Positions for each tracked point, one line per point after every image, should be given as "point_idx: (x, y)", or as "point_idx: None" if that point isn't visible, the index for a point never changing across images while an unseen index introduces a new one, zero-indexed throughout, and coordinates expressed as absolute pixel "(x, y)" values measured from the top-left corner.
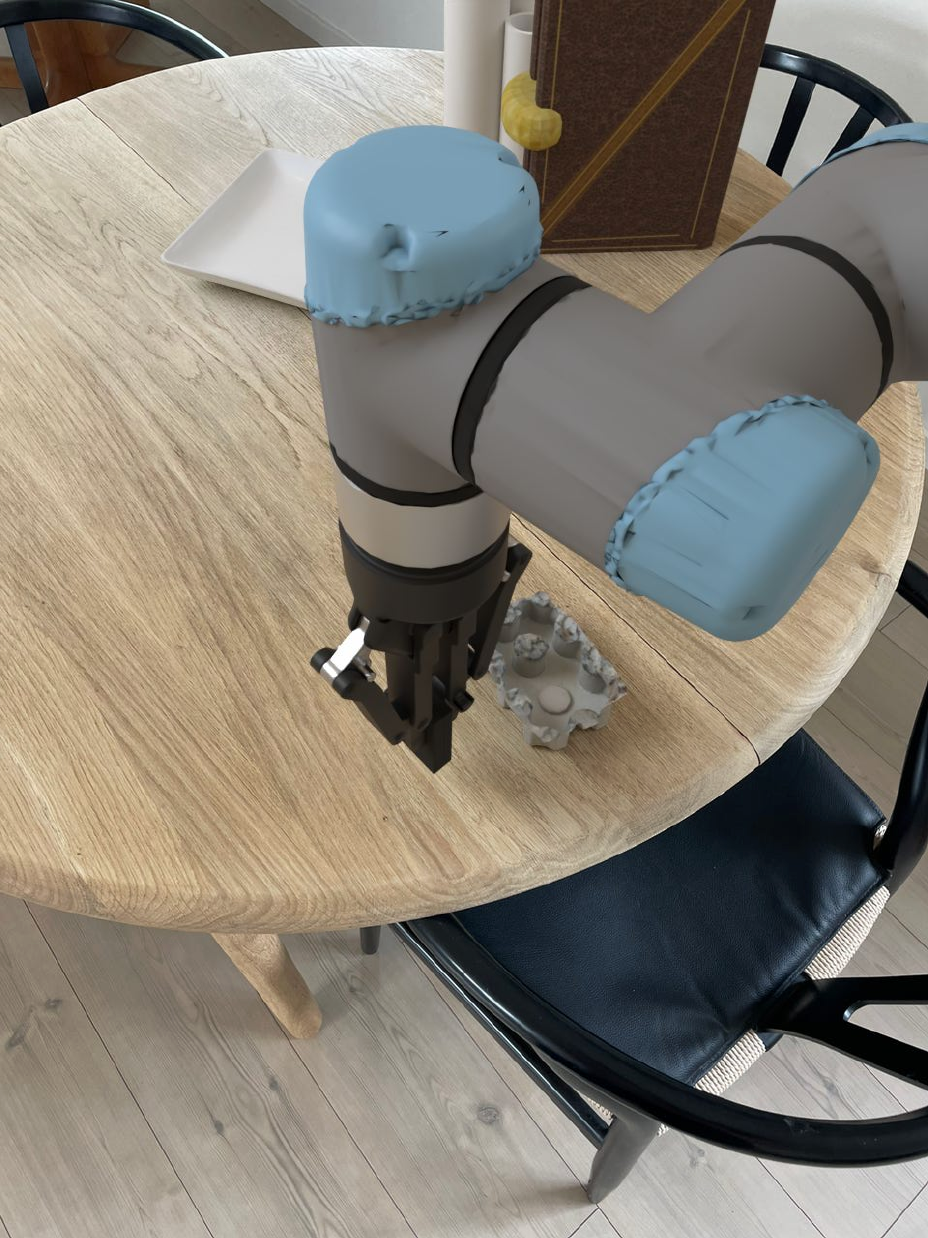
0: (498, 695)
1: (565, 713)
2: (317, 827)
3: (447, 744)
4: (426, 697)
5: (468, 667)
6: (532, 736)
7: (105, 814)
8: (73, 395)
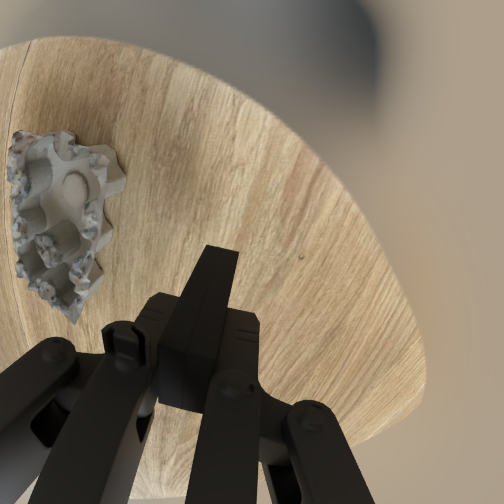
0: (106, 242)
1: (79, 171)
2: (343, 303)
3: (202, 274)
4: (211, 496)
5: (67, 387)
6: (114, 179)
7: (388, 400)
8: (182, 485)
